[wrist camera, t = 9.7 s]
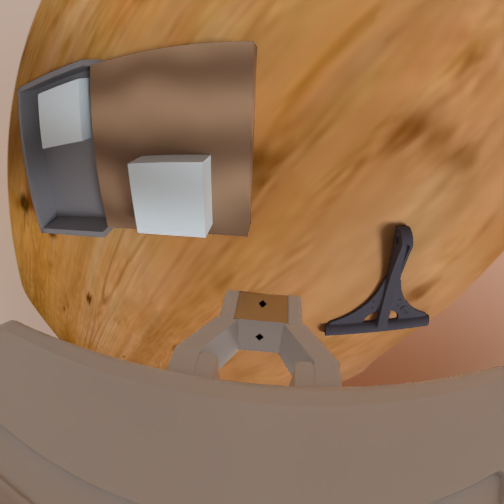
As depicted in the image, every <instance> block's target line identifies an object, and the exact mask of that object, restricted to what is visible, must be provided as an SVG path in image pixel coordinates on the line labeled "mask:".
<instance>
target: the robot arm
mask: <svg viewBox="0 0 504 504" xmlns="http://www.w3.org/2000/svg"><path fill="white" fill-rule="evenodd" d="M238 349H239V350H252V351H263V352H272V353H279V355H280V357H281V359H282V360H283V362H284V363H285V365H286V367H287V368H288V370H289V372H290V373H291V375H292V378H291V381H290V385H289V386H279V385H266V384H254V383H245V382H236V381H228V380H220V375H219V369H220V368H221V367H222V366H223V365H224V364H225V363H226V362H227V361H228V360H229V359H230V358H231V357H232V356H233V355H234V354H235V353H236V352H237V351H238ZM258 349H259V350H258ZM0 504H504V366H497V367H493V368H489V369H486V370H481V371H477V372H473V373H468V374H463V375H458V376H453V377H447V378H441V379H434V380H428V381H420V382H412V383H403V384H392V385H380V386H362V387H361V386H360V387H342V382H341V374H340V365H339V361H338V360H337V359H336V358H335V357H334V356H333V355H332V354H331V352H330V351H329V350H328V349H327V348H326V347H325V346H324V345H323V343H322V342H321V341H320V340H319V339H318V338H317V337H316V336H315V334H314V333H313V332H312V331H311V330H310V329H309V328H308V327H307V325H302V308H301V297H300V296H291V295H288V296H287V295H273V294H262V293H253V292H244V291H234V290H227V292H226V295H225V299H224V303H223V306H222V310H221V314H220V317H215V318H214V319H212V320H211V321H210V322H208V323H207V324H206V325H204V326H203V327H202V328H200V329H199V330H198V331H196V332H195V333H193V334H192V335H191V336H189V337H188V338H187V339H185V340H184V341H183V342H181V343H180V344H178V345H177V346H176V347H175V350H174V352H173V355H172V358H171V360H170V363H169V366H168V368H167V370H164V369H159V368H154V367H150V366H146V365H142V364H138V363H134V362H130V361H126V360H122V359H119V358H115V357H112V356H108V355H105V354H102V353H98V352H95V351H92V350H89V349H86V348H83V347H80V346H77V345H74V344H71V343H68V342H66V341H63V340H60V339H58V338H55V337H52V336H50V335H47V334H45V333H42V332H40V331H38V330H35V329H33V328H31V327H28V326H26V325H24V324H22V323H20V322H17V321H14V320H11V321H8V322H6V323H3V324H1V325H0Z"/></svg>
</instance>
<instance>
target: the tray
mask: <svg viewBox="0 0 504 504" xmlns="http://www.w3.org/2000/svg"><path fill="white" fill-rule="evenodd" d="M103 61H106V60H91V59H83V60H80V61H77V62H75V63H72V64H69V65H67V66H64V67H62V68H60V69H57V70H55V71H53V72H50V73H48V74H46V75H44V76H42V77H39V78H37V79H35V80H33V81H31V82H29V83H27V84H25V85H24V86H22V87H20V88H18V89H17V98H18V116H19V128H20V137H21V145H22V152H23V158H24V164H25V170H26V175H27V180H28V184H29V189H30V193H31V197H32V201H33V205H34V209H35V213H36V216H37V220H38V223H39V226H40V230H41V233H53V234H66V235H79V236H92V237H105V236H106V235H107V234H108V233H109V232H110V231H111V230H112V229H113V227H108V225H107V221H106V216H105V211H104V206H103V201H102V196H101V190H100V184H99V178H98V172H97V165H96V157H95V149H94V140H93V137H92V138H89V139H86V140H84V141H79V142H74V143H69V144H64V145H59V146H54V147H50V148H45V149H43V148H42V140H41V131H40V121H39V108H38V94H39V93H42V92H44V91H47V90H49V89H51V88H54V87H57V86H59V85H62V84H65V83H67V82H70V81H73V80H76V79H80V78H90V65H93V64H96V63H100V62H103Z"/></svg>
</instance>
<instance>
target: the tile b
mask: <svg viewBox="0 0 504 504" xmlns="http://www.w3.org/2000/svg"><path fill="white" fill-rule="evenodd" d="M128 172H129V180H130V187H131V194H132V201H133V208H134V214H135V220H136V225H137V231H138V233H147V234H161V235H176V236H189V237H203V238H206V236H207V234H208V232H209V230H210V228H211V226H212V224H213V220H212V190H211V155H151V156H141V157H139V158H137V159H135V160H133V161H132V162H130V163H128Z"/></svg>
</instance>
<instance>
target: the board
mask: <svg viewBox="0 0 504 504" xmlns="http://www.w3.org/2000/svg"><path fill="white" fill-rule="evenodd" d="M256 57H257V46H256V45H255V43H254V41H233V42H212V43H199V44H189V45H181V46H173V47H167V48H160V49H155V50H149V51H144V52H139V53H135V54H130V55H126V56H122V57H118V58H114V59H110V60H107V61H103V62H100V63H96V64H93V65H90V99H91V117H92V130H93V140H94V149H95V157H96V165H97V172H98V178H99V184H100V190H101V196H102V201H103V206H104V211H105V216H106V221H107V225H108V227H113V228H130V229H137V225H136V220H135V214H134V208H133V201H132V194H131V187H130V180H129V172H128V163H130V162H132V161H133V160H135V159H137V158H139V157H141V156H151V155H211V190H212V220H213V224H212V226H211V228H210V230H209V232H208V234H220V235H233V236H246V237H247V236H248V232H249V228H250V224H251V195H252V166H253V138H254V110H255V83H256Z"/></svg>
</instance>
